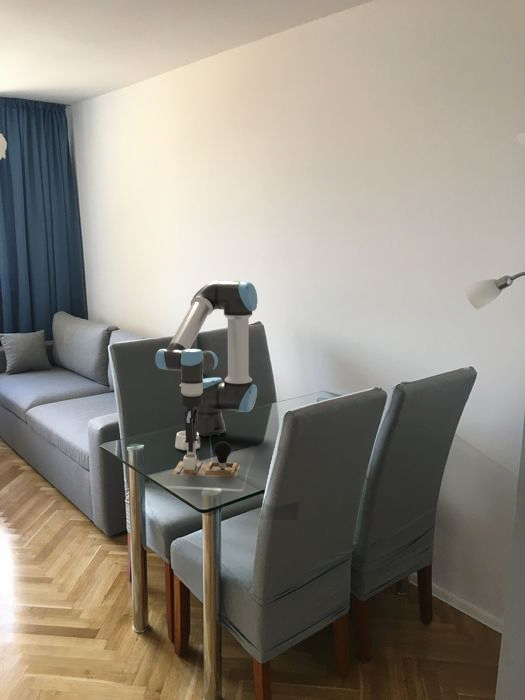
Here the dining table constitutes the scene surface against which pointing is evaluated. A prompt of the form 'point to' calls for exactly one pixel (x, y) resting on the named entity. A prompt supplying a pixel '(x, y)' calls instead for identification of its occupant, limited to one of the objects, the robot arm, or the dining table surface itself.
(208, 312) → the robot arm
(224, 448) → the light bulb
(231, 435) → the dining table surface
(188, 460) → the white block
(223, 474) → the wooden tray
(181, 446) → the mug
